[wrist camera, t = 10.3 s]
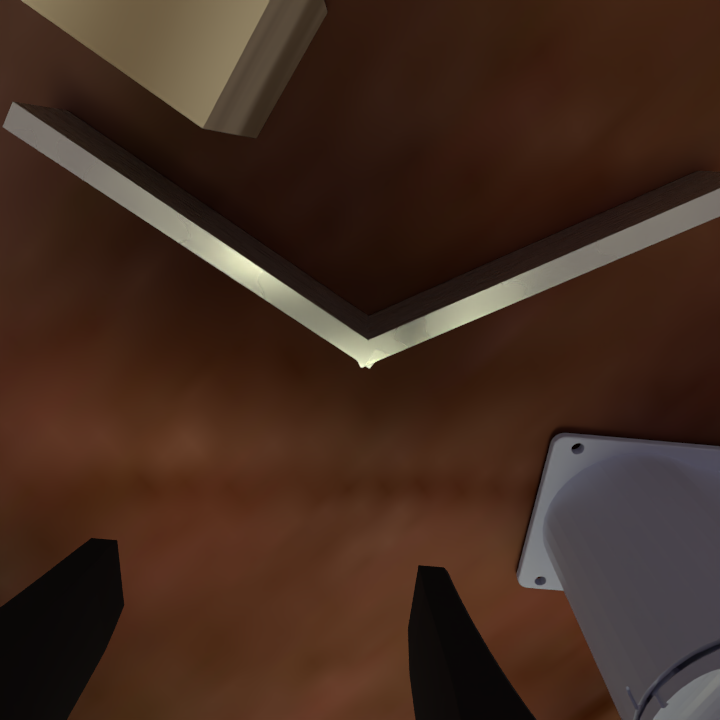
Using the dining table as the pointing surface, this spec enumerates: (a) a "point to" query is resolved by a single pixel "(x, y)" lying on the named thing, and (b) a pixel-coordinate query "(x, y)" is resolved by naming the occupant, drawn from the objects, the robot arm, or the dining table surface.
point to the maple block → (198, 50)
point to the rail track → (315, 301)
